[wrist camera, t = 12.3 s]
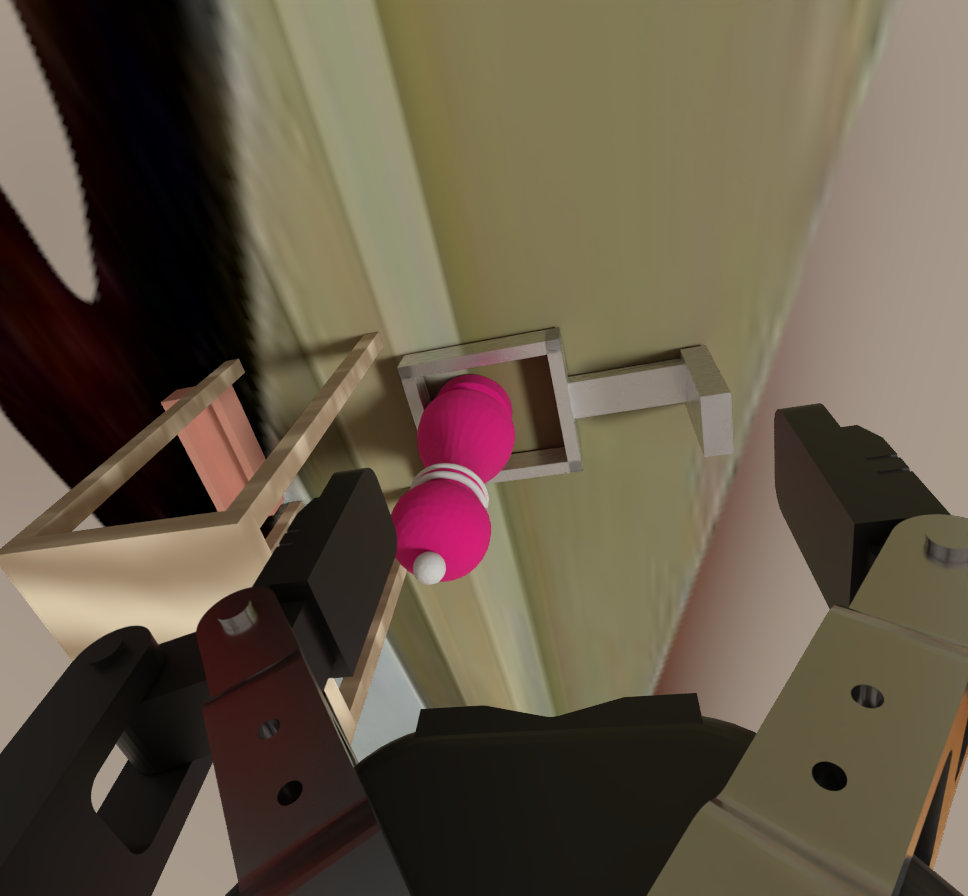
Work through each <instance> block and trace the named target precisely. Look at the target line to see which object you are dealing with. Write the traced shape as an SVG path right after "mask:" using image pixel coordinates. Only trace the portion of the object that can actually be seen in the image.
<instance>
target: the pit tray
mask: <svg viewBox="0 0 968 896" xmlns="http://www.w3.org/2000/svg"><path fill="white" fill-rule="evenodd" d="M193 388H194V387H189V388H184V389H179V390H176V391H175V392H173V393H172V394H171V395H170V396H168V397H167V398H166V399H165V400H163V401H162V402H161V404H162V406H163V408H164V410H165V411H167V410H168V409H169V408H170V407H171V406H173V405H174V404H175V403H176V402H177V401H179V400H180V399H181V398H182V397H183V396H185V395H186V394H187V393H188V392H189V391H191V390H192V389H193ZM178 436H179V438H180V440H181V442H182V444H183V446H184V448H185V450H186V452H187V453H188V455H189V457H190V459H191V461H192V463H193V465H194V467H195V469H196V471H197V473H198V474H199V476H200V478H201V480H202V482H203V484H204V486H205V488H206V490H207V492H208V494H209V495H210V497H211V499H212V501H213V503H214V505H215V507H216V509H217V511H218V512H221V511H226V510H227V508H228V507H229V506H230V505H231V503H232V502H233V501H234V500H235V498H236V497H237V496H238V494H239V493H240V492H241V491H242V489H243V488H244V487H245V486H246V484H247V483H248V482H249V480H250V479H251V478H252V477H253V475H254V474H255V473H256V472H257V470H258V469H259V468H260V466H261V465H262V464H263V463H264V461H265V460H266V459H265V456H264V454H263V452H262V450H261V448H260V446H259V443H258V441H257V439H256V437H255V435H254V432H253V430H252V428H251V426H250V424H249V422H248V419H247V417H246V415H245V413H244V411H243V408H242V406H241V404H240V402H239V400H238V398H237V395H236V393H235V391H234V389H233V387H232V385H231V386H230V387H228V388H227V389H226V390H225V391H224V392H223V393H222V394H221V395H220V396H219V397H218V398H216V399H215V400H214V401H213V402H212V403H211V404H210V405H209V406H208V407H207V408H206V409H204V410H203V411H202V412H201V413H200V414H199V415H198V416H197V417H196V418H195V419H194V420H192V421H191V422H190V423H189V424H188V425H187V426H186V427H185V428H184V429H183V430H182V431H180V432H179V433H178ZM283 501H284V498H283V496H282V497H281V498H280V499H279V501H278V502H277V504H276V505H275V507H274V508H273V510H272V511H271V513H270V514H269V516H271V515H274V514H275V513H276V511H277V510H278V508H279V507H280V505H281V504H282V502H283Z"/></svg>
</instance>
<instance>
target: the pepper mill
mask: <svg viewBox="0 0 968 896" xmlns="http://www.w3.org/2000/svg"><path fill="white" fill-rule="evenodd" d="M514 441H515V430H514V425H513V422H512V406H511V402H510V399H509V397H508V395H507V393H506V392H505V391H504V389H503V388H502V387H501V386H500V385H498V384H497V383H496V382H494V381H493V380H491V379H489V378H486V377H484V376H479V375H462V376H458V377H456V378H453V379H452V380H450V381H448V382H447V383H446V384H445V385H444V386H443V387H442V388H441V389H440V391H439V393H438V394H437V397H436V398H435V399H434V400H433V401H432V402H431V403H430V404H429V405H428V406H427V407H426V409H425V410H424V412H423V414H422V416H421V419H420V422H419V426H418V431H417V444H418V452H419V455H420V458H421V461H422V463H423V465H424V470H422V471H421V472H420V473H419V474H418V475H417V476H416V477H415V478H414V480H413V482H412V485H411V488H410V490H409V491H408V492H406V493H405V494H404V495H403V496H402V497H401V498H400V499H399V501H398V502H397V504H396V505H395V507H394V509H393V511H392V514H391V518H392V520H393V523H394V526H395V530H396V535H397V552H396V556H395V558H396V559H397V560H398V562H399V563H400V564H401V565H402V566H403V567H404V568H405V569H406V570H407V571H409V572H410V573H412V574H414V575H415V577H416V578H417V579H418V581H420V582H421V583H423V584H427V585H431V584H435V583H437V582H443V581H451V580H455V579H458V578H461V577H463V576H465V575H466V574H468V573H470V572H471V571H472V570H473V569H474V568H476V566H477V565H478V564H479V563H480V562H481V560H482V559H483V557H484V555H485V553H486V551H487V549H488V546H489V542H490V536H491V523H490V519H489V515H488V513H487V507H488V502H489V498H488V492H487V489H486V487H485V485H484V484H485V483H487V482H488V481H490V480H491V479H493V478H494V477H495V476H496V475H497V474H498V473H499V472H500V471H501V470H502V469H503V468H504V466H505V465H506V463H507V462H508V460H509V458H510V456H511V453H512V450H513V447H514Z"/></svg>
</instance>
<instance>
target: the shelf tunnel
mask: <svg viewBox="0 0 968 896" xmlns="http://www.w3.org/2000/svg"><path fill="white" fill-rule="evenodd" d="M382 348H383V344H382V341H381V338H380V335H379V332H376V333H371V334H366V335H363V337H362V338H361V339H360V340H359V342H358V343H357V344H356V346H355V347H354V348H353V349H352V351H351V352H350V353H349V354H348V356H347V357H346V358H345V360H344V361H343V362H342V363H341V365H340V366H339V367H338V368H337V370H336V371H335V372H334V374H333V375H332V376H331V377H330V379H329V380H328V381H327V382H326V384H325V385H324V386H323V388H322V389H321V390H320V391H319V393H318V394H317V395H316V396H315V398H314V399H313V400H312V402H311V403H310V404H309V405H308V407H307V408H306V409H305V410H304V412H303V413H302V414H301V416H300V417H299V418H298V419H297V421H296V422H295V423H294V424H293V426H292V427H291V428H290V430H289V431H288V432H287V433H286V435H285V436H284V437H283V438H282V440H281V441H280V442H279V444H278V445H277V446H276V447H275V449H274V450H273V451H272V452H271V454H270V455H269V456H268V458H267V459H266V460H265V461H264V463H263V464H262V465H261V466H260V468H259V469H258V470H257V472H256V473H255V474H254V475H253V477H252V478H251V479H250V480H249V482H248V483H247V484H246V486H245V487H244V488H243V489H242V491H241V492H240V493H239V494H238V496H237V497H236V498H235V500H234V501H233V502H232V503H231V505H230V506H229V507H228V508H227V510H226V511H221V512H213V513H206V514H199V515H191V516H184V517H177V518H169V519H162V520H155V521H147V522H140V523H133V524H125V525H118V526H111V527H103V528H96V529H89V530H81V531H75V532H71V531H72V530H74V529H75V528H76V527H77V526H78V525H79V524H80V523H81V522H82V521H83V520H85V519H86V518H87V517H88V516H89V515H90V514H91V513H92V512H93V511H94V510H95V509H97V508H98V507H99V506H100V505H101V504H102V503H103V502H104V501H105V500H106V499H107V498H109V497H110V496H111V495H112V494H113V493H114V492H115V491H116V490H117V489H118V488H119V487H121V486H122V485H123V484H124V483H125V482H126V481H127V480H128V479H129V478H130V477H131V476H133V475H134V474H135V473H136V472H137V471H138V470H139V469H140V468H141V467H142V466H143V465H145V464H146V463H147V462H148V461H149V460H150V459H151V458H152V457H153V456H154V455H155V454H156V453H158V452H159V451H160V450H161V449H162V448H163V447H164V446H165V445H166V444H167V443H168V442H170V441H171V440H172V439H173V438H174V437H175V436H176V435H177V434H178V433H179V432H180V431H182V430H183V429H184V428H185V427H186V426H187V425H188V424H189V423H190V422H191V421H192V420H194V419H195V418H196V417H197V416H198V415H199V414H200V413H201V412H202V411H203V410H204V409H206V408H207V407H208V406H209V405H210V404H211V403H212V402H213V401H214V400H215V399H216V398H218V397H219V396H220V395H221V394H222V393H223V392H224V391H225V390H226V389H227V388H228V387H230V386H231V385H232V384H233V383H234V382H235V381H236V380H237V379H238V378H239V377H240V376H242V375H243V374H244V373H245V371H244V369H243V367H242V365H241V362H240V360H239V359H235V360H230V361H225V362H224V363H223V364H222V365H221V366H219V367H218V368H217V369H216V370H215V371H213V372H212V373H211V374H210V375H209V376H207V377H206V378H205V379H204V380H203V381H201V382H200V383H199V384H198V385H197V386H195V387H194V388H193V389H192V390H191V391H189V392H188V393H187V394H186V395H185V396H183V397H182V398H181V399H180V400H179V401H177V402H176V403H175V404H174V405H173V406H171V407H170V408H169V409H168V410H167V411H165V412H164V413H163V414H162V415H161V416H159V417H158V418H157V419H156V420H155V421H153V422H152V423H151V424H150V425H149V426H147V427H146V428H145V429H144V430H143V431H141V432H140V433H139V434H138V435H137V436H135V437H134V438H133V439H132V440H131V441H129V442H128V443H127V444H126V445H125V446H123V447H122V448H121V449H120V450H119V451H117V452H116V453H115V454H114V455H113V456H111V457H110V458H109V459H108V460H107V461H105V462H104V463H103V464H102V465H101V466H99V467H98V468H97V469H96V470H95V471H93V472H92V473H91V474H90V475H89V476H87V477H86V478H85V479H84V480H83V481H81V482H80V483H79V484H78V485H77V486H75V487H74V488H73V489H72V490H71V491H69V492H68V493H67V494H66V495H65V496H63V497H62V498H61V499H60V500H59V501H57V502H56V503H55V504H54V505H53V506H51V507H50V508H49V509H48V510H47V511H46V512H44V513H43V514H42V515H41V516H39V517H38V518H37V519H36V520H35V521H33V522H32V523H31V524H30V525H29V526H27V527H26V528H25V529H24V530H22V531H21V532H20V533H19V534H18V535H17V536H15V537H14V538H13V539H12V540H11V541H9V542H8V543H7V544H6V545H5V546H3V547H2V548H1V549H0V567H1V568H2V570H3V571H4V572H5V573H6V575H7V576H8V577H9V579H10V580H11V581H12V582H13V584H14V585H15V587H16V588H17V589H18V591H19V592H20V593H21V594H22V595H23V597H24V598H25V600H26V601H27V602H28V604H29V605H30V606H31V607H32V609H33V610H34V611H35V613H36V614H37V615H38V617H39V618H40V619H41V621H42V622H43V623H44V625H45V626H46V627H47V628H48V630H49V631H50V632H51V634H52V635H53V636H54V638H55V639H56V640H57V642H58V643H59V644H60V646H61V647H62V648H63V649H64V651H65V652H66V653H67V655H68V656H69V657H70V659H71V660H72V661H74V659H75V658H76V657H77V656H78V655H79V654H80V653H81V652H82V651H83V650H84V649H85V648H87V647H88V646H89V645H90V644H92V643H93V642H95V641H96V640H98V639H99V638H101V637H103V636H104V635H106V634H108V633H110V632H113V631H115V630H117V629H120V628H124V627H128V626H136V625H137V626H143V627H146V628H147V629H149V631H150V632H151V634H152V635H153V637H154V638H155V640H156V641H157V643H158V644H161V643H164V642H167V641H170V640H173V639H176V638H179V637H182V636H185V635H188V634H191V633H194V632H196V629H197V626H198V623H199V621H200V620H201V618H202V617H203V615H204V614H205V613H206V612H207V611H208V610H209V609H210V608H211V607H212V606H213V605H214V604H216V603H217V602H218V601H220V600H221V599H223V598H224V597H226V596H228V595H230V594H232V593H234V592H236V591H239V590H242V589H245V588H249V587H252V586H253V584H254V583H255V581H256V579H257V578H258V576H259V575H260V573H261V571H262V570H263V568H264V566H265V565H266V563H267V562H268V560H269V558H270V557H271V555H272V553H273V552H274V550H275V549H276V547H278V546H279V542H280V540H281V539H282V537H283V536H284V534H285V533H287V529H288V528H289V526H290V524H291V523H292V521H293V519H294V518H295V516H296V515H297V513H298V512H299V511H301V510H302V509H303V508H304V505H303V503H302V501H298V502H290V503H289V505H288V506H287V508H286V509H285V511H284V512H283V514H282V515H281V517H280V518H279V520H278V522H277V523H276V525H275V526H274V528H273V529H272V531H271V532H270V534H269V535H268V537H267V538H266V540H265V539H264V537H263V535H262V533H261V531H260V527H261V526H262V524H263V523H264V522H265V520H266V519H267V517H268V516H269V514H270V513H271V511H272V510H273V508H274V507H275V505H276V504H277V502H278V501H279V499H280V498H281V497H282V495H283V494H284V492H285V491H286V489H287V488H288V486H289V485H290V483H291V482H292V480H293V479H294V477H295V476H296V474H297V473H298V471H299V470H300V469H301V467H302V466H303V464H304V463H305V461H306V460H307V458H308V457H309V455H310V454H311V452H312V451H313V449H314V448H315V446H316V445H317V444H318V442H319V441H320V439H321V438H322V436H323V435H324V433H325V432H326V430H327V429H328V427H329V426H330V424H331V423H332V421H333V420H334V418H335V417H336V416H337V414H338V413H339V411H340V410H341V408H342V407H343V405H344V404H345V402H346V401H347V399H348V398H349V396H350V395H351V393H352V392H353V390H354V389H355V388H356V386H357V385H358V383H359V382H360V380H361V379H362V377H363V376H364V374H365V373H366V371H367V370H368V368H369V367H370V365H371V364H372V363H373V361H374V360H375V358H376V357H377V355H378V354H379V352H380V351H381V349H382ZM406 572H407V570H406V569H405V568H404V567H403V566H402V565H401V564H400V563H399V562H398V560H397V559H396V558H395V559H394V562H393V564H392V567H391V570H390V573H389V576H388V578H387V581H386V584H385V587H384V590H383V593H382V595H381V598H380V601H379V604H378V607H377V609H376V612H375V615H374V618H373V621H372V623H371V626H370V629H369V632H368V635H367V638H366V640H365V643H364V646H363V649H362V652H361V654H360V657H359V660H358V663H357V666H356V668H355V671H354V674H353V677H343V680H342V682H341V685H340V688H339V689H338V687H337V685H336V683H335V680H334V678H328V681H327V683H326V686H325V689H324V691H325V693H326V695H327V697H328V699H329V701H330V703H331V705H332V707H333V709H334V711H335V714H336V716H337V718H338V720H339V722H340V724H341V726H342V728H343V731H344V733H345V735H346V737H347V739H348V741H349V743H350V745H351V743H352V740H353V736H354V733H355V730H356V727H357V724H358V721H359V718H360V715H361V712H362V709H363V705H364V702H365V699H366V696H367V693H368V690H369V687H370V684H371V681H372V677H373V674H374V671H375V668H376V665H377V662H378V659H379V656H380V653H381V650H382V646H383V643H384V640H385V637H386V634H387V631H388V628H389V625H390V622H391V618H392V615H393V612H394V609H395V606H396V603H397V600H398V597H399V594H400V591H401V587H402V584H403V581H404V578H405V575H406Z"/></svg>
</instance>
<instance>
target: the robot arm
mask: <svg viewBox="0 0 968 896" xmlns="http://www.w3.org/2000/svg"><path fill="white" fill-rule="evenodd" d="M774 443H775V445H774V449H775V488H776V494H777V499H778V503H779V506H780V509H781V512H782V514H783V516H784V518H785V520H786V522H787V524H788V526H789V528H790V530H791V532H792V534H793V536H794V538H795V540H796V542H797V544H798V546H799V548H800V550H801V552H802V554H803V556H804V558H805V560H806V562H807V564H808V566H809V568H810V570H811V572H812V574H813V576H814V578H815V580H816V582H817V584H818V586H819V588H820V590H821V592H822V594H823V596H824V598H825V600H826V602H827V604H828V606H829V608H830V610H829V612H828V613H827V615H826V617H825V618H824V620H823V622H822V623H821V625H820V627H819V628H818V630H817V632H816V634H815V635H814V637H813V639H812V640H811V642H810V644H809V645H808V647H807V649H806V650H805V652H804V654H803V656H802V657H801V659H800V661H799V662H798V664H797V666H796V667H795V669H794V671H793V673H792V674H791V676H790V678H789V679H788V681H787V683H786V684H785V686H784V688H783V690H782V691H781V693H780V695H779V696H778V698H777V700H776V701H775V703H774V705H773V707H772V708H771V710H770V712H769V713H768V715H767V717H766V718H765V720H764V722H763V724H762V725H761V727H760V729H759V730H758V732H757V733H755V732H753V731H751V730H748V729H745V728H743V727H740V726H738V725H736V724H733V723H729V722H726V721H722V720H719V719H715V718H710V717H704V716H701V711H700V706H699V702H698V698H697V693H690V694H672V695H654V696H637V697H623V698H620V699H616V700H613V701H609V702H606V703H602V704H599V705H595V706H592V707H588V708H585V709H581V710H578V711H574V712H571V713H567V714H564V715H561V716H556V717H544V716H539V715H533V714H528V713H522V712H517V711H511V710H506V709H501V708H495V707H490V706H467V707H450V708H433V709H421V711H420V715H419V719H418V724H417V728H416V732H414V733H411V734H408V735H405V736H403V737H401V738H398V739H396V740H393V741H392V742H390V743H388V744H386V745H384V746H382V747H380V748H379V749H377V750H376V751H374V752H373V753H371V754H370V755H368V756H367V757H366V758H364V759H363V760H362V761H361V762H358V760H357V758H356V756H355V754H354V752H353V750H352V748H351V745H350V743H349V741H348V739H347V737H346V735H345V733H344V731H343V728H342V726H341V724H340V722H339V720H338V718H337V716H336V714H335V711H334V709H333V707H332V705H331V703H330V701H329V699H328V697H327V695H326V693H325V691H324V689H325V686H326V683H327V681H328V678H341V677H353V674H354V671H355V668H356V666H357V663H358V660H359V657H360V654H361V652H362V649H363V646H364V643H365V640H366V638H367V635H368V632H369V629H370V626H371V623H372V621H373V618H374V615H375V612H376V609H377V607H378V604H379V601H380V598H381V595H382V593H383V590H384V587H385V584H386V581H387V578H388V576H389V573H390V570H391V567H392V564H393V562H394V559H395V556H396V552H397V535H396V530H395V526H394V523H393V520H392V518H391V515H390V512H389V509H388V507H387V504H386V501H385V498H384V496H383V493H382V490H381V487H380V485H379V482H378V479H377V477H376V475H375V473H374V471H373V470H372V469H370V468H362V469H356V470H349V471H342V472H336V473H334V474H333V475H332V477H331V479H330V480H329V482H328V484H327V486H326V487H325V489H324V491H323V492H322V494H321V496H320V497H319V498H314V499H313V500H312V501H311V502H310V503H309V504H307V505H306V506H305V507H304V508H303V509H302V510H301V511H299V512H298V513H297V515H296V516H295V518H294V519H293V521H292V523H291V524H290V526H289V528H288V529H287V533H285V534H284V536H283V537H282V539H281V540H280V542H279V546H278V547H276V549H275V550H274V552H273V553H272V555H271V557H270V558H269V560H268V562H267V563H266V565H265V566H264V568H263V570H262V571H261V573H260V575H259V576H258V578H257V579H256V581H255V583H254V584H253V586H252V587H249V588H245V589H242V590H239V591H236V592H234V593H232V594H230V595H228V596H226V597H224V598H223V599H221V600H220V601H218V602H217V603H216V604H214V605H213V606H212V607H211V608H210V609H209V610H208V611H207V612H206V613H205V614H204V615H203V617H202V618H201V620H200V621H199V623H198V626H197V629H196V632H194V633H191V634H188V635H185V636H182V637H179V638H176V639H173V640H170V641H167V642H164V643H161V644H158V643H157V641H156V640H155V638H154V637H153V635H152V634H151V632H150V631H149V629H147V628H146V627H143V626H137V625H136V626H128V627H124V628H120V629H117V630H115V631H113V632H110V633H108V634H106V635H104V636H103V637H101V638H99V639H98V640H96V641H95V642H93V643H92V644H90V645H89V646H88V647H87V648H85V649H84V650H83V651H82V652H81V653H80V654H79V655H78V656H77V657H76V658H75V659H74V661H73V662H72V663H71V664H70V666H69V667H68V668H67V670H66V671H65V672H64V673H63V675H62V676H61V677H60V678H59V680H58V681H57V682H56V683H55V685H54V686H53V687H52V689H51V690H50V691H49V692H48V694H47V695H46V696H45V698H44V699H43V700H42V701H41V703H40V704H39V705H38V706H37V708H36V709H35V710H34V711H33V713H32V714H31V715H30V717H29V718H28V719H27V721H26V722H25V723H24V724H23V726H22V727H21V728H20V729H19V731H18V732H17V733H16V734H15V736H14V737H13V738H12V740H11V741H10V742H9V743H8V745H7V746H6V747H5V748H4V750H3V751H2V752H1V754H0V896H151V895H152V893H153V891H154V889H155V887H156V885H157V882H158V880H159V878H160V876H161V874H162V871H163V869H164V867H165V865H166V863H167V860H168V858H169V856H170V854H171V852H172V850H173V847H174V845H175V843H176V841H177V839H178V837H179V834H180V832H181V830H182V828H183V826H184V824H185V821H186V819H187V817H188V815H189V813H190V810H191V808H192V806H193V804H194V802H195V799H196V797H197V795H198V793H199V791H200V789H201V786H202V784H203V782H204V780H205V778H206V775H207V773H208V771H209V769H210V767H211V765H212V763H213V765H214V769H215V774H216V779H217V783H218V788H219V793H220V798H221V802H222V807H223V812H224V817H225V821H226V825H227V831H228V836H229V840H230V845H231V850H232V854H233V859H234V863H235V868H236V873H237V878H238V883H237V884H236V885H235V886H234V887H233V888H232V889H231V890H230V891H229V892H228V893H227V894H226V895H225V896H964V895H963V894H961V893H960V892H959V891H958V890H956V889H955V888H954V887H953V886H951V885H950V884H949V883H948V882H947V881H946V880H944V879H943V878H942V877H941V876H939V875H938V874H937V873H936V872H935V871H933V868H934V865H935V862H936V858H937V855H938V851H939V848H940V844H941V841H942V837H943V834H944V830H945V826H946V822H947V818H948V814H949V811H950V808H951V804H952V801H953V798H954V795H955V792H956V788H957V785H958V782H959V779H960V776H961V773H962V770H963V767H964V764H965V761H966V758H967V755H968V518H964V517H959V516H953V515H950V513H949V512H948V511H947V510H946V509H945V508H944V507H943V505H942V504H941V503H940V502H939V501H938V500H937V499H936V497H935V496H934V495H933V494H932V493H931V492H930V491H929V490H928V488H927V487H926V486H925V485H924V484H923V483H922V482H921V481H920V479H919V478H918V477H917V476H916V475H915V474H914V473H913V472H912V471H911V472H910V470H909V467H908V466H907V465H906V463H905V462H904V461H903V460H902V459H901V458H898V457H897V453H896V452H895V451H894V450H893V449H892V448H891V447H890V445H889V444H888V443H887V442H886V441H885V440H884V439H883V438H882V437H880V436H878V435H876V434H874V433H872V432H870V431H868V430H866V429H864V428H862V427H860V426H858V425H854V426H847V427H840V426H839V424H838V423H837V422H836V420H835V419H834V418H833V417H832V415H831V414H830V413H829V412H828V410H827V409H826V408H825V407H824V405H822V404H820V403H819V404H811V405H805V406H798V407H791V408H784V409H778V410H777V411H776V413H775V418H774ZM115 744H117V746H118V747H119V748H120V749H121V751H122V752H123V753H124V755H125V756H126V757H127V758H128V761H127V763H126V764H125V766H124V768H123V769H122V771H121V773H120V775H119V776H118V778H117V780H116V781H115V783H114V785H113V786H112V788H111V790H110V792H109V793H108V795H107V797H106V798H105V800H104V802H103V803H102V806H101V807H100V809H99V810H98V812H97V813H96V812H95V811H94V809H93V806H92V803H91V790H92V786H93V782H94V779H95V777H96V775H97V773H98V772H99V770H100V768H101V767H102V765H103V764H104V762H105V760H106V759H107V757H108V756H109V754H110V752H111V751H112V749H113V748H114V746H115Z"/></svg>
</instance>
